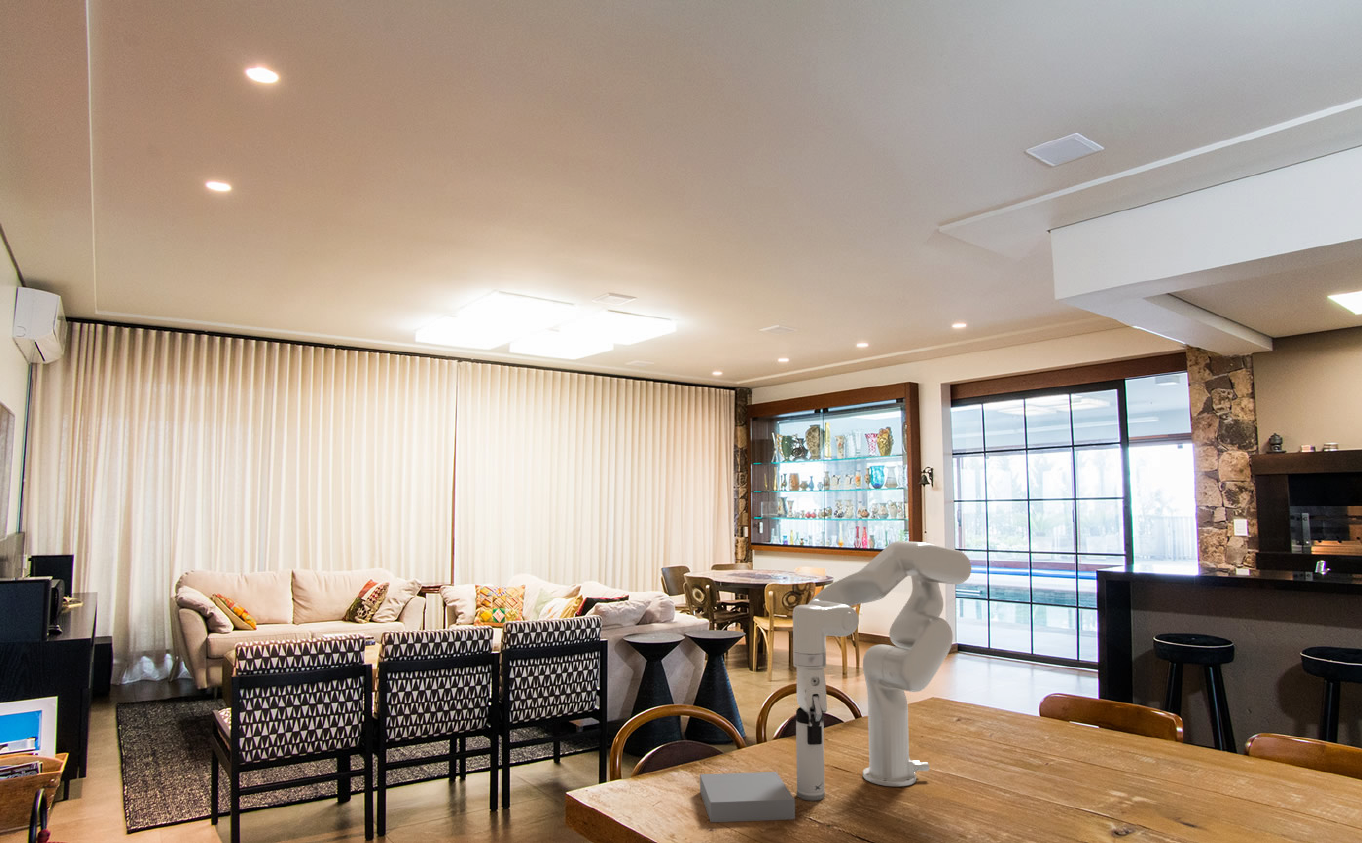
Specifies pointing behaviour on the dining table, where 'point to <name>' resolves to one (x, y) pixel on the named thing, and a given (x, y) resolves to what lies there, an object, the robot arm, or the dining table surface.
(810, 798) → the travel mug
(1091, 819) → the dining table surface
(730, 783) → the plinth
